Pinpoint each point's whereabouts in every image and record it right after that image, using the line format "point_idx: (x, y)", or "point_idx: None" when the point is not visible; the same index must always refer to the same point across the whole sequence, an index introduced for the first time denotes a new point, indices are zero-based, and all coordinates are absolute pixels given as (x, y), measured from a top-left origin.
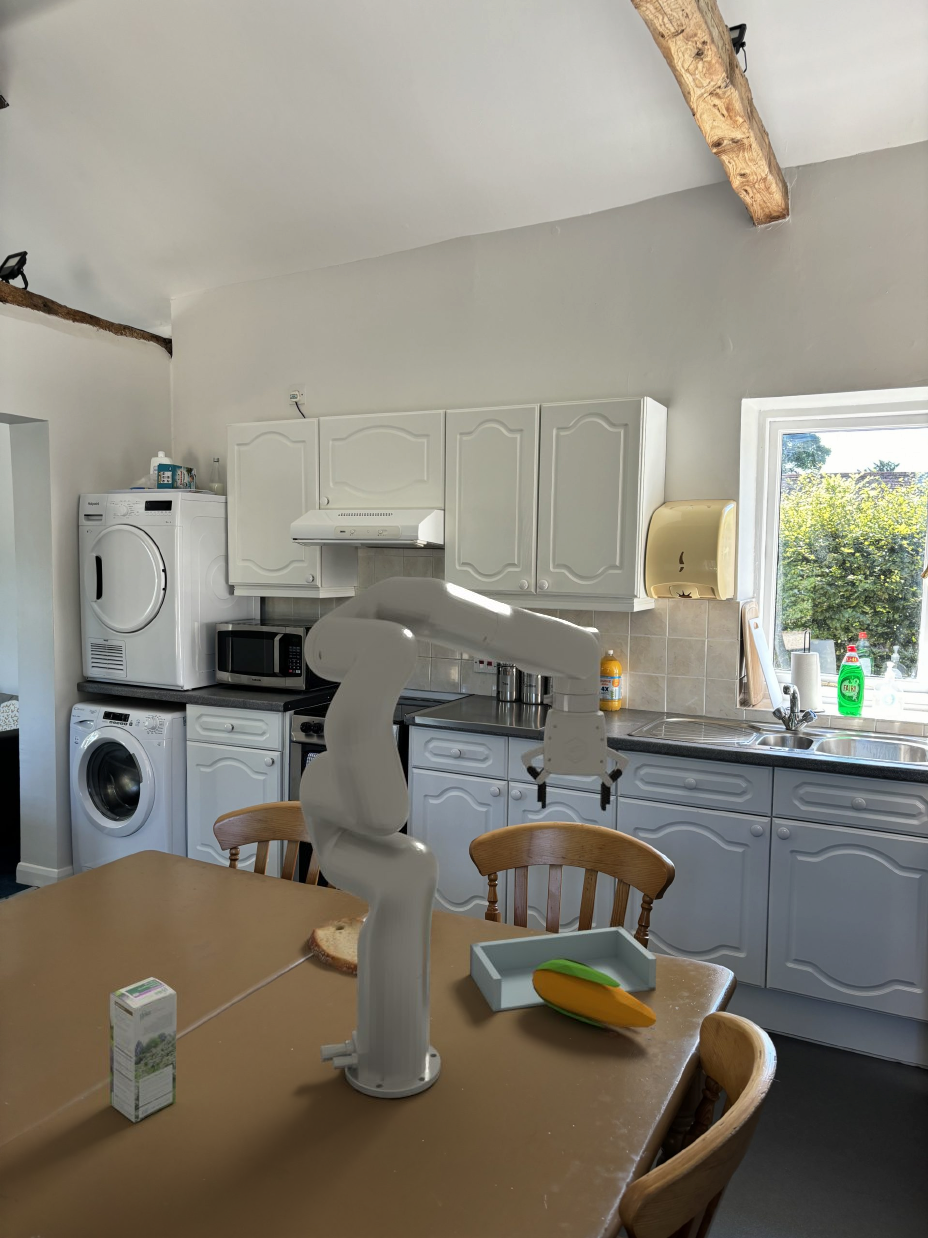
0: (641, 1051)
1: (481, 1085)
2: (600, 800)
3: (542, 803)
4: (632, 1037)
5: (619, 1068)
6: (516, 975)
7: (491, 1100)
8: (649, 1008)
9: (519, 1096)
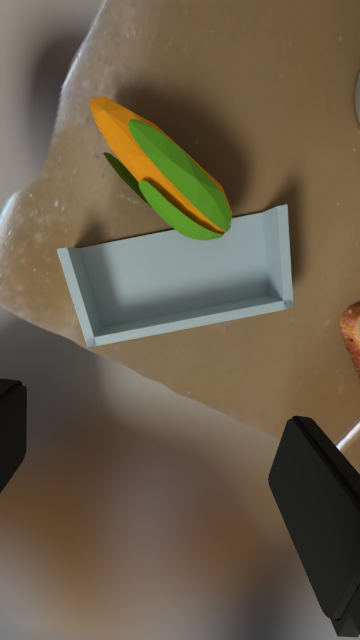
0: (120, 101)
1: (318, 43)
2: (8, 470)
3: (319, 432)
4: None
5: (155, 63)
6: (228, 287)
7: (315, 7)
8: (95, 113)
9: (282, 12)
